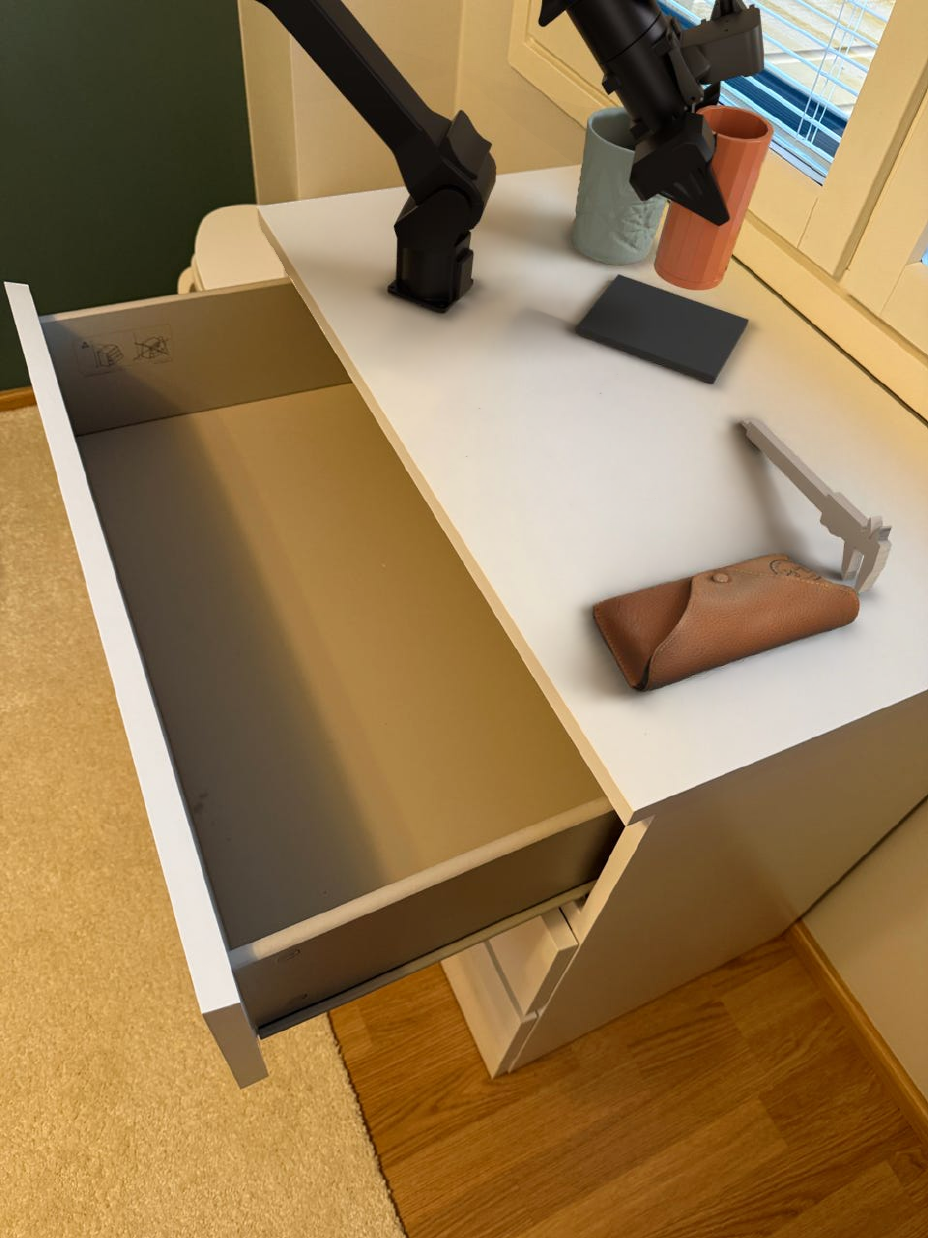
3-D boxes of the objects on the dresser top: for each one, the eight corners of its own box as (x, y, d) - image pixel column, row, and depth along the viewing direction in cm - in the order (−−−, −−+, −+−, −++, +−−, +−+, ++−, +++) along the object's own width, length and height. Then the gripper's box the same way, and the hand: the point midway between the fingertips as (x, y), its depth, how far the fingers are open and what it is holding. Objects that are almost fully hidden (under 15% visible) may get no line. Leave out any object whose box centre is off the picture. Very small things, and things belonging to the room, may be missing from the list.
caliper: (866, 596, 70) (903, 539, 66) (853, 598, 70) (890, 541, 65) (749, 423, 82) (773, 364, 77) (738, 424, 82) (762, 365, 77)
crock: (672, 293, 82) (718, 143, 72) (642, 254, 85) (681, 106, 75) (735, 286, 83) (788, 139, 73) (702, 248, 87) (749, 103, 77)
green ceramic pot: (560, 217, 102) (581, 102, 93) (650, 221, 103) (678, 108, 94) (573, 267, 96) (595, 149, 87) (667, 272, 97) (700, 156, 88)
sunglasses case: (783, 545, 72) (840, 524, 66) (813, 631, 72) (873, 618, 65) (582, 606, 67) (623, 589, 60) (613, 700, 66) (658, 692, 60)
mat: (575, 333, 89) (576, 325, 88) (616, 280, 95) (618, 273, 94) (713, 384, 85) (715, 376, 85) (746, 326, 92) (749, 319, 91)
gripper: (722, 7, 61) (823, 203, 69) (728, -75, 72) (813, 100, 80) (580, 111, 67) (688, 278, 75) (607, 20, 79) (697, 174, 87)
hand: (725, 203), depth 79 cm, fingers closed on crock, 6 cm apart
